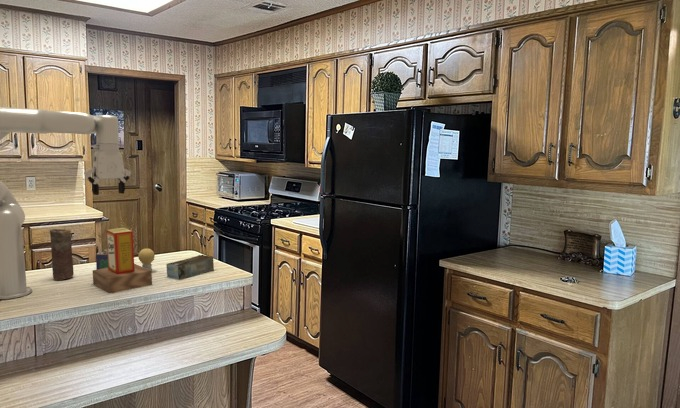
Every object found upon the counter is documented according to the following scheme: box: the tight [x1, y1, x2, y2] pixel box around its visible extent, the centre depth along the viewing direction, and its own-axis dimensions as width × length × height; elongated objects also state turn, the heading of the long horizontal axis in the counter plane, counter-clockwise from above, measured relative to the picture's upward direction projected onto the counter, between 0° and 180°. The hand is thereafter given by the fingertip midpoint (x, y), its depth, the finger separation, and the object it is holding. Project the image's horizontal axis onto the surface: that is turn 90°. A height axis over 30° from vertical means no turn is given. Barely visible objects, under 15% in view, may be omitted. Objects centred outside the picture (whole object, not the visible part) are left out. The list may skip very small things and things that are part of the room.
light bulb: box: [138, 248, 155, 272], centre depth 211 cm, size 6×6×10 cm
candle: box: [49, 228, 75, 281], centre depth 199 cm, size 8×7×20 cm
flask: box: [95, 249, 108, 270], centre depth 206 cm, size 9×3×11 cm, turn 88°
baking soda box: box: [105, 227, 135, 274], centre depth 191 cm, size 10×6×16 cm
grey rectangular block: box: [166, 254, 215, 281], centre depth 209 cm, size 8×19×7 cm, turn 146°
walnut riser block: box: [92, 263, 153, 294], centre depth 193 cm, size 16×16×6 cm
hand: (108, 193), depth 189 cm, fingers open, 9 cm apart
